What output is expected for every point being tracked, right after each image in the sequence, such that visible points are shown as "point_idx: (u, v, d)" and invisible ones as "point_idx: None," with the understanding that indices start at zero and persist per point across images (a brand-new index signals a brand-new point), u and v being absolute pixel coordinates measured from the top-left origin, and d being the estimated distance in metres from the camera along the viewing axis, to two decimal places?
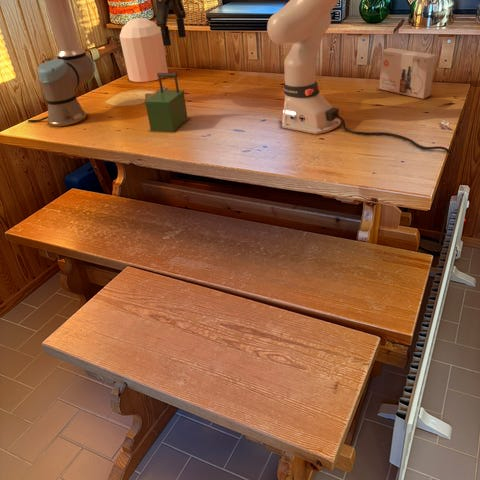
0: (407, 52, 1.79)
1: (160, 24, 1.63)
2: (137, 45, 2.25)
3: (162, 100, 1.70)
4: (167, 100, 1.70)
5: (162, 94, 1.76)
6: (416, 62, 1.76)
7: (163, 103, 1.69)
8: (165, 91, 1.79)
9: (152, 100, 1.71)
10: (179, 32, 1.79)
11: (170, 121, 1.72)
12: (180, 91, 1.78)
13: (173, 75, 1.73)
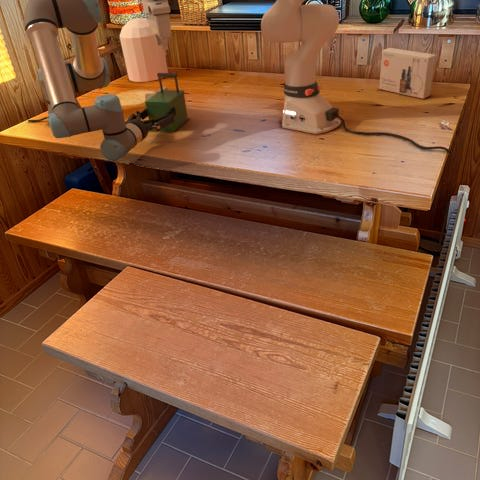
0: (407, 52, 1.79)
1: None
2: (137, 45, 2.25)
3: (162, 100, 1.70)
4: (167, 100, 1.70)
5: (162, 94, 1.76)
6: (416, 62, 1.76)
7: (163, 103, 1.69)
8: (165, 91, 1.79)
9: (152, 100, 1.71)
10: None
11: None
12: (180, 91, 1.78)
13: (173, 75, 1.73)
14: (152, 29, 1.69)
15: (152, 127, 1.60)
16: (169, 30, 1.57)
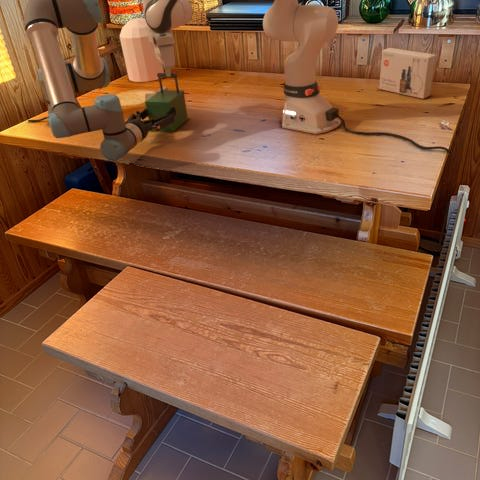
0: (407, 52, 1.79)
1: None
2: (137, 45, 2.25)
3: (162, 100, 1.70)
4: (167, 100, 1.70)
5: (162, 94, 1.76)
6: (416, 62, 1.76)
7: (163, 103, 1.69)
8: (165, 91, 1.79)
9: (152, 100, 1.71)
10: None
11: None
12: (180, 91, 1.78)
13: (173, 75, 1.73)
14: (157, 57, 1.74)
15: (152, 127, 1.60)
16: (173, 60, 1.63)
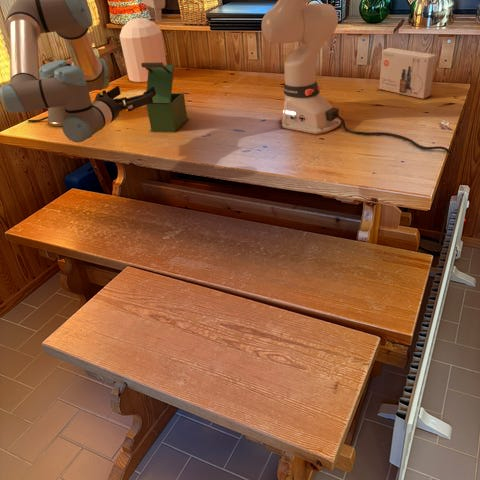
0: (407, 52, 1.79)
1: None
2: (137, 45, 2.25)
3: (161, 98, 1.69)
4: (166, 97, 1.68)
5: (155, 80, 1.70)
6: (416, 62, 1.76)
7: (164, 103, 1.69)
8: (154, 70, 1.70)
9: None
10: None
11: (171, 120, 1.72)
12: (170, 68, 1.68)
13: (159, 66, 1.62)
14: (144, 1, 1.62)
15: (123, 106, 1.42)
16: (163, 0, 1.51)
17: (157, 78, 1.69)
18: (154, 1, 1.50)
